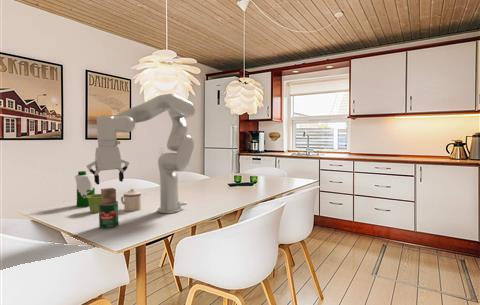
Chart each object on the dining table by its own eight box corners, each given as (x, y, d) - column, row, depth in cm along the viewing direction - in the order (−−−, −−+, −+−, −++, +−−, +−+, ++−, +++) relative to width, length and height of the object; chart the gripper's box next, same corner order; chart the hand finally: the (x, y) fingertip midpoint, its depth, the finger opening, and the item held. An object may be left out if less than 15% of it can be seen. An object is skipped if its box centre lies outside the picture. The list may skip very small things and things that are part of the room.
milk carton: (84, 203, 170) (83, 170, 169) (98, 204, 168) (97, 170, 167) (73, 206, 161) (72, 172, 160) (87, 207, 159) (87, 172, 158)
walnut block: (113, 200, 128) (112, 187, 128) (116, 202, 124) (115, 189, 124) (101, 202, 125) (101, 189, 124) (103, 204, 121) (103, 190, 120)
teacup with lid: (144, 208, 158) (144, 187, 158) (134, 212, 150) (134, 190, 149) (126, 206, 162) (126, 186, 161) (115, 210, 153) (115, 189, 153)
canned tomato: (115, 223, 130) (114, 199, 130) (121, 227, 125) (120, 202, 124) (96, 226, 125) (96, 202, 125) (102, 231, 119) (101, 205, 119)
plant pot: (98, 214, 145) (97, 197, 145) (82, 213, 147) (82, 197, 147) (110, 209, 154) (109, 194, 154) (95, 208, 156) (94, 193, 156)
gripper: (125, 143, 131) (127, 179, 133) (83, 144, 121) (86, 183, 122) (130, 143, 125) (132, 181, 127) (87, 145, 115) (89, 186, 116)
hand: (109, 182), depth 124 cm, fingers open, 9 cm apart
